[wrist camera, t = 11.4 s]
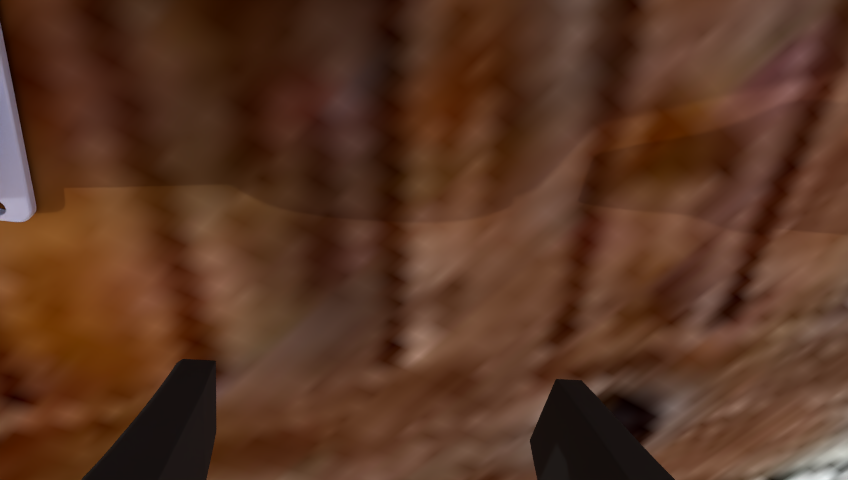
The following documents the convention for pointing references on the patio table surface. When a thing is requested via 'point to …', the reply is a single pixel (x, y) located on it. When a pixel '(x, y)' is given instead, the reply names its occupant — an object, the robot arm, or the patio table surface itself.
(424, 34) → the patio table surface
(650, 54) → the patio table surface
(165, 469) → the robot arm
